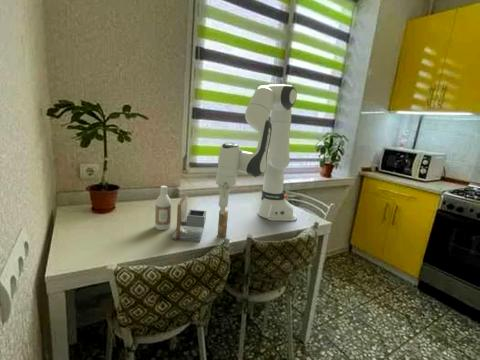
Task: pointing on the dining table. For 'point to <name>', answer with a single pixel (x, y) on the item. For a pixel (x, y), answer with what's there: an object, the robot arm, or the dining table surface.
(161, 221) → the bath foam
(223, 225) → the oak rail post
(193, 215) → the cup bracket
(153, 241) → the dining table surface
